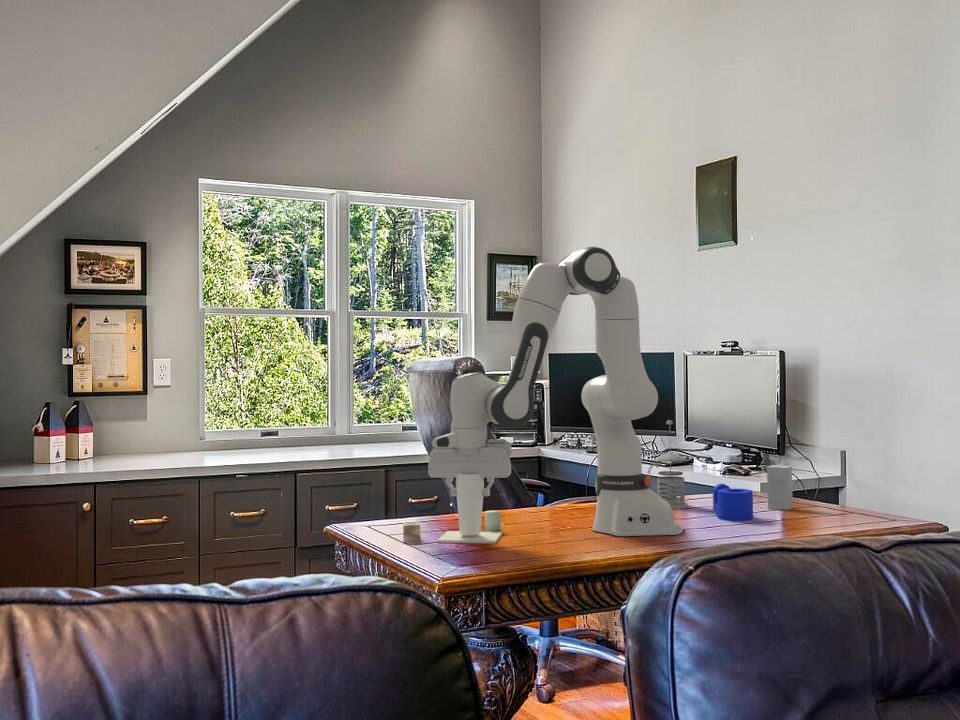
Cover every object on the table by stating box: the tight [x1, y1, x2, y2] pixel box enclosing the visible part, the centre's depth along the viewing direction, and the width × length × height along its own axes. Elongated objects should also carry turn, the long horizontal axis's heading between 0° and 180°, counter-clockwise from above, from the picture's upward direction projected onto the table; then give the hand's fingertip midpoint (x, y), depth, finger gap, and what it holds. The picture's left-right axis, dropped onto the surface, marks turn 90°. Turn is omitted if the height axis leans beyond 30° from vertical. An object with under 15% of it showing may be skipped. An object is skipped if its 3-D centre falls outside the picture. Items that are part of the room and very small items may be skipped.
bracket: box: [712, 483, 754, 522], centre depth 261 cm, size 20×9×8 cm, turn 179°
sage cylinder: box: [484, 510, 502, 532], centre depth 242 cm, size 4×4×5 cm
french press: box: [646, 419, 689, 509], centre depth 279 cm, size 10×12×25 cm
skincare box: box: [766, 464, 794, 511], centre depth 270 cm, size 6×4×12 cm
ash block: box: [402, 521, 421, 543], centre depth 232 cm, size 4×4×4 cm
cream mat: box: [437, 530, 503, 544], centre depth 233 cm, size 14×12×1 cm
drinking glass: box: [455, 474, 485, 536], centre depth 233 cm, size 7×7×15 cm
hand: (470, 495), depth 233 cm, fingers closed on drinking glass, 7 cm apart
